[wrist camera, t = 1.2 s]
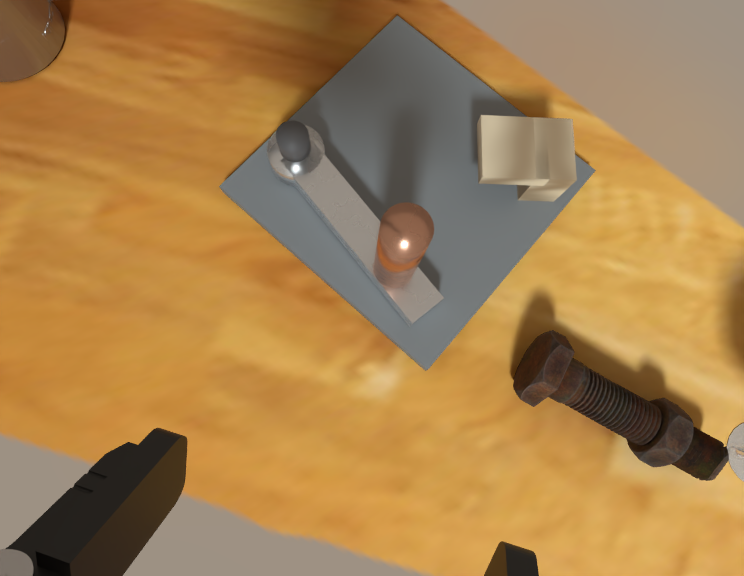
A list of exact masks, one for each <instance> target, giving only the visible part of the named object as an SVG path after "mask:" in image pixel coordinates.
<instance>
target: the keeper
mask: <svg viewBox="0 0 744 576" xmlns="http://www.w3.org/2000/svg"><path fill="white" fill-rule="evenodd" d="M477 147H478V184H504V185H517V198H518V200H523V201H549V202H554V201H555V200H556V199H557V198H558V197H559V196H560V195H561V194H563V193H564V192H565V191H566V190H567V189H568V188H569V187H570V186H571V185H572V184H573V183H574V182H575V181H577V176H576V162H575V148H574V133H573V119H562V118H539V117H516V116H493V115H481V116H480V118H479V120H478V123H477Z"/></svg>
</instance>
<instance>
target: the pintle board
mask: <svg viewBox="0 0 744 576" xmlns="http://www.w3.org/2000/svg"><path fill="white" fill-rule="evenodd" d="M481 115H493V116H516V117H527V116H525V115H524V114H523V113H522V112H520V111H519V110H518V109H516V108H515V107H514V106H513V105H511V104H510V103H509V102H507V101H506V100H505V99H504V98H502V97H501V96H500V95H499V94H497V93H496V92H495V91H493V90H492V89H491V88H490V87H488V86H487V85H486V84H484V83H483V82H482V81H481V80H479V79H478V78H477V77H475V76H474V75H473V74H472V73H470V72H469V71H468V70H467V69H465V68H464V67H463V66H461V65H460V64H459V63H458V62H456V61H455V60H454V59H452V58H451V57H450V56H449V55H447V54H446V53H445V52H444V51H442V50H441V49H440V48H438V47H437V46H436V45H435V44H433V43H432V42H431V41H429V40H428V39H427V38H426V37H424V36H423V35H422V34H420V33H419V32H418V31H417V30H415V29H414V28H413V27H412V26H410V25H409V24H408V23H406V22H405V21H404V20H403V19H401V18H400V17H399V16H396V17H395V18H394V19H393V20H392V21H391V22H390V23H389V24H388V25H387V26H386V27H385V28H384V29H383V30H381V31H380V32H379V33H378V34H377V35H376V36H375V37H374V38H373V39H372V40H371V41H370V42H369V43H368V44H367V45H366V46H365V47H364V48H363V49H362V50H361V51H360V52H359V53H358V54H356V55H355V56H354V57H353V58H352V59H351V60H350V61H349V62H348V63H347V64H346V65H345V66H344V67H343V68H342V69H341V70H340V71H339V72H338V73H337V74H336V75H335V76H334V77H333V78H332V79H330V80H329V81H328V82H327V83H326V84H325V85H324V86H323V87H322V88H321V89H320V90H319V91H318V92H317V93H316V94H315V95H314V96H313V97H312V98H311V99H310V100H309V101H308V102H307V103H306V104H304V105H303V106H302V107H301V108H300V109H299V110H298V111H297V112H296V113H295V114H294V115H293V116H292V117H291V118H290V119H289V120H288V121H286V122H284V123H282V124H281V125H280V126H279V127H278V129H277V131H276V141H277V144H278V147H279V150H280V153H281V155H282V156H283V157H284V158H285V159H286V160H288V161H290V162H300V161H302V160H304V159H306V158H307V157H308V155H309V154H310V151H311V144H310V138H309V133H308V130H307V128H306V126H305V125H307V126H309V127H311V128H313V129H314V130H315V131H316V132H317V133H318V134H319V135H320V136H321V138H322V140H323V143H324V150H325V156H326V157H327V158H328V159H329V161H330V162H331V163H332V164H333V165H334V167H335V168H336V169H337V170H338V171H339V173H340V174H341V175H342V176H343V177H344V179H345V180H346V181H347V182H348V183H349V185H350V186H351V187H352V188H353V189H354V191H355V192H356V193H357V194H358V195H359V197H360V198H361V199H362V200H363V201H364V203H365V204H366V205H367V206H368V207H369V209H370V210H371V211H372V212H373V213H374V215H375V216H376V217H377V218H378V219H379V221H380V222H381V219H382V217H383V215H384V213H385V212H386V211H387V210H388V209H389V208H390V207H392V206H394V205H396V204H399V203H404V202H408V203H414V204H417V205H419V206H421V207H423V208H424V209H425V210H426V211H427V212H428V213H429V214H430V216H431V218H432V220H433V223H434V235H433V238H432V240H431V242H430V244H429V246H428V248H427V250H426V252H425V254H424V256H423V257H422V259H421V261H420V263H419V265H418V267H419V268H420V270H421V271H422V272H423V273H424V274H425V276H426V277H427V278H428V279H429V280H430V282H431V283H432V284H433V285H434V286H435V288H436V289H437V290H438V291H439V292H440V294H441V295H442V296H443V297H444V298H443V299H442V300H441V301H440V302H439V303H438V304H437V305H436V306H434V307H433V308H432V309H431V310H429V311H428V312H427V313H426V314H424V315H423V316H422V317H421V318H420V319H418V320H417V321H416V322H415V323H413V324H412V325H411V326H410V327H409V326H408V324H407V323H406V322H405V321H404V320H403V318H402V317H401V316H400V315H399V313H398V312H397V311H396V310H395V308H394V307H393V306H392V305H391V304H390V302H389V301H388V300H387V299H386V297H385V296H384V295H383V294H382V292H381V291H380V290H379V289H378V288H377V286H376V285H375V284H374V283H373V281H372V280H371V279H370V278H369V276H368V275H367V274H366V273H365V272H364V270H363V269H362V268H361V267H360V265H359V264H358V263H357V262H356V260H355V259H354V258H353V257H352V256H351V254H350V253H349V252H348V251H347V249H346V248H345V247H344V246H343V244H342V243H341V242H340V241H339V239H338V238H337V237H336V236H335V235H334V233H333V232H332V231H331V230H330V228H329V227H328V226H327V225H326V223H325V222H324V221H323V220H322V219H321V217H320V216H319V215H318V214H317V212H316V211H315V210H314V209H313V207H312V206H311V205H310V204H309V203H308V201H307V200H306V199H305V198H304V196H303V195H302V194H301V193H300V191H299V190H298V189H297V188H296V187H294V186H289V185H287V184H285V183H283V182H281V181H280V180H279V179H278V178H277V177H276V175H275V174H274V172H273V169H272V167H271V164H270V161H269V158H268V155H267V145H268V142H269V139H270V138H271V137H270V138H269V139H268V140H267V141H266V142H265V143H264V144H263V145H262V146H261V147H260V148H259V149H258V150H257V151H256V152H255V153H253V154H252V155H251V156H250V157H249V158H248V159H247V160H246V161H245V162H244V163H243V164H242V165H241V166H240V167H239V168H238V169H237V170H236V171H235V172H234V173H233V174H232V175H231V176H230V177H228V178H227V179H226V180H225V181H224V182H223V183H222V184H221V185H220V186H219V187H220V188H221V190H222V191H223V193H225V194H226V195H227V196H228V197H229V198H230V199H231V200H232V201H234V202H235V203H236V204H237V205H238V206H239V207H240V208H242V209H243V210H244V211H245V212H246V213H247V214H248V215H249V216H251V217H252V218H253V219H254V220H255V221H256V222H257V223H259V224H260V225H261V226H262V227H263V228H264V229H265V230H266V231H268V232H269V233H270V234H271V235H272V236H273V237H274V238H276V239H277V240H278V241H279V242H280V243H281V244H282V245H283V246H285V247H286V248H287V249H288V250H289V251H290V252H291V253H293V254H294V255H295V256H296V257H297V258H298V259H299V260H300V261H302V262H303V263H304V264H305V265H306V266H307V267H308V268H310V269H311V270H312V271H313V272H314V273H315V274H316V275H317V276H319V277H320V278H321V279H322V280H323V281H324V282H325V283H327V284H328V285H329V286H330V287H331V288H332V289H333V290H334V291H336V292H337V293H338V294H339V295H340V296H341V297H342V298H344V299H345V300H346V301H347V302H348V303H349V304H350V305H351V306H353V307H354V308H355V309H356V310H357V311H358V312H359V313H361V314H362V315H363V316H364V317H365V318H366V319H367V320H368V321H370V322H371V323H372V324H373V325H374V326H375V327H376V328H378V329H379V330H380V331H381V332H382V333H383V334H384V335H385V336H387V337H388V338H389V339H390V340H391V341H392V342H393V343H395V344H396V345H397V346H398V347H399V348H400V349H401V350H402V351H404V352H405V353H406V354H407V355H408V356H409V357H410V358H412V359H413V360H414V361H415V362H416V363H417V364H418V365H419V366H421V367H422V368H423V369H424V370H428V369H429V368H430V366H431V365H432V364H433V363H434V362H435V360H436V359H437V358H438V357H439V356H440V355H441V353H442V352H443V351H444V350H445V349H446V347H447V346H448V345H449V344H450V343H451V341H452V340H453V339H454V338H455V337H456V336H457V334H458V333H459V332H460V331H461V330H462V328H463V327H464V326H465V325H466V324H467V322H468V321H469V320H470V319H471V318H472V317H473V315H474V314H475V313H476V312H477V311H478V309H479V308H480V307H481V306H482V305H483V303H484V302H485V301H486V300H487V299H488V298H489V296H490V295H491V294H492V293H493V292H494V290H495V289H496V288H497V287H498V286H499V284H500V283H501V282H502V281H503V280H504V279H505V277H506V276H507V275H508V274H509V273H510V271H511V270H512V269H513V268H514V267H515V265H516V264H517V263H518V262H519V261H520V260H521V258H522V257H523V256H524V255H525V254H526V252H527V251H528V250H529V249H530V248H531V247H532V245H533V244H534V243H535V242H536V241H537V239H538V238H539V237H540V236H541V235H542V233H543V232H544V231H545V230H546V229H547V228H548V226H549V225H550V224H551V223H552V222H553V220H554V219H555V218H556V217H557V216H558V214H559V213H560V212H561V211H562V210H563V209H564V207H565V206H566V205H567V204H568V203H569V201H570V200H571V199H572V198H573V197H574V195H575V194H576V193H577V192H578V191H579V190H580V188H581V187H582V186H583V185H584V184H585V182H586V181H587V180H588V179H589V178H590V176H591V175H592V174H593V173H594V172H595V171H596V170H594V169H593V168H592V167H591V166H589V165H588V164H587V163H585V162H584V161H583V160H582V159H580V158H579V157H578V156H577V155H575V162H576V176H577V181H575V182H574V183H573V184H572V185H571V186H570V187H569V188H568V189H567V190H566V191H565V192H564V193H563V194H561V195H560V196H559V197H558V198H557V199H556V200H555V201H554V202H549V201H523V200H518V198H517V185H504V184H478V147H477V123H478V120H479V118H480V116H481Z"/></svg>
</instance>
